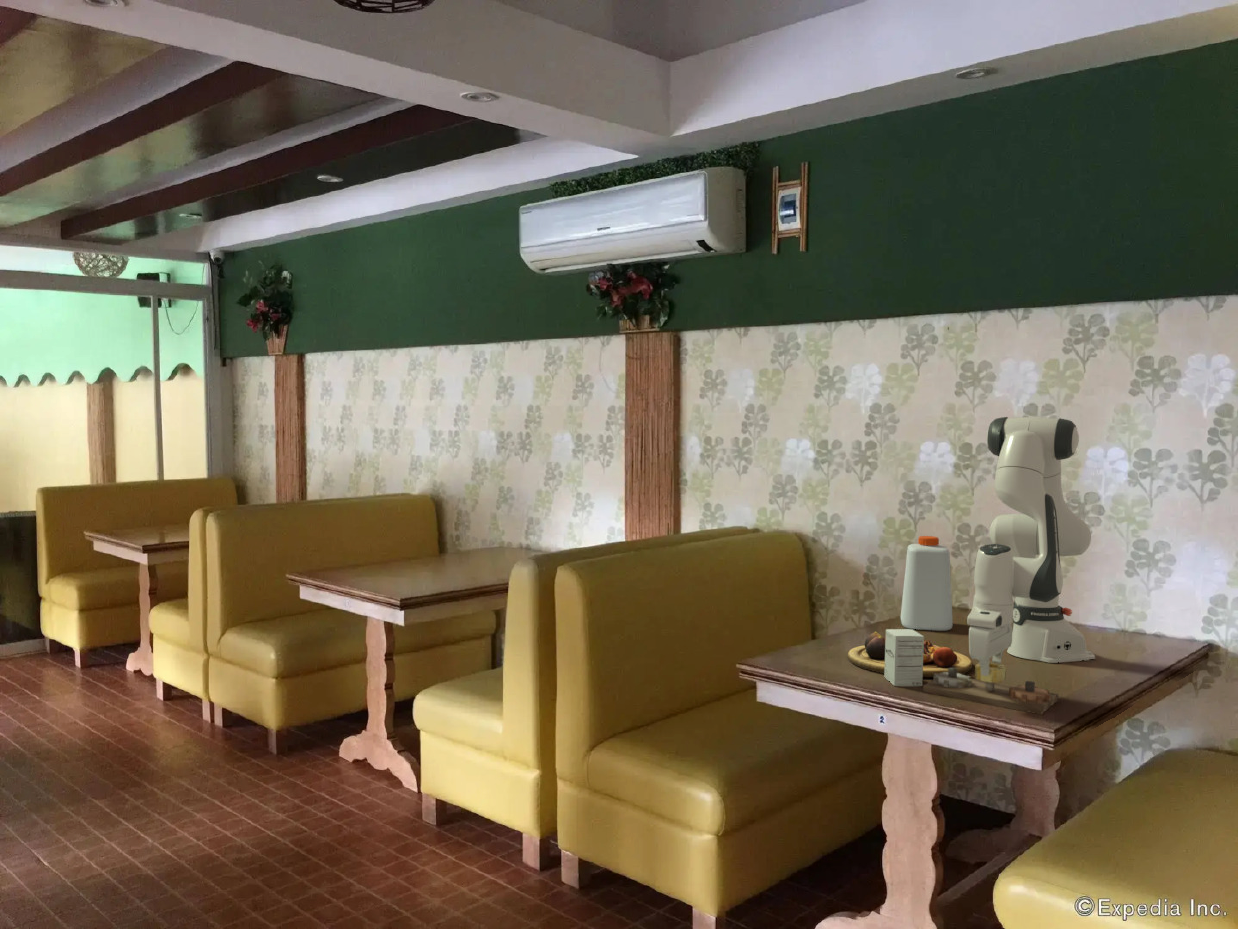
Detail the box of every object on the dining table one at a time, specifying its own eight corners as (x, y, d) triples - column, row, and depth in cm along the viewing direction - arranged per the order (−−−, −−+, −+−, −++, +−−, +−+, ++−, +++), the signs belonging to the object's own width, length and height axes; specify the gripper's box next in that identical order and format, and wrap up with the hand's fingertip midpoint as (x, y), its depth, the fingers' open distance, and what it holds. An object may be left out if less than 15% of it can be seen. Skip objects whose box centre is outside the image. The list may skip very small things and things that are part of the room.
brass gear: (981, 674, 239) (982, 661, 239) (1007, 678, 235) (1007, 665, 235) (973, 679, 234) (973, 665, 234) (999, 683, 230) (999, 670, 230)
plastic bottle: (948, 622, 316) (951, 535, 315) (953, 632, 302) (956, 541, 300) (899, 619, 320) (902, 533, 318) (902, 629, 305) (904, 539, 303)
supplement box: (883, 678, 249) (884, 628, 249) (912, 678, 250) (913, 628, 249) (893, 686, 242) (895, 635, 241) (923, 686, 242) (924, 635, 242)
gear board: (944, 679, 249) (944, 660, 248) (1058, 700, 232) (1059, 679, 232) (923, 691, 238) (923, 671, 237) (1040, 714, 221) (1041, 692, 221)
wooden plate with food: (997, 677, 253) (998, 645, 253) (883, 682, 246) (884, 649, 246) (930, 649, 284) (931, 621, 284) (827, 653, 277) (828, 624, 277)
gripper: (993, 605, 244) (991, 661, 244) (964, 618, 228) (962, 678, 228) (1020, 609, 240) (1017, 665, 241) (992, 622, 224) (990, 683, 225)
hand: (990, 672), depth 234 cm, fingers closed on brass gear, 6 cm apart
